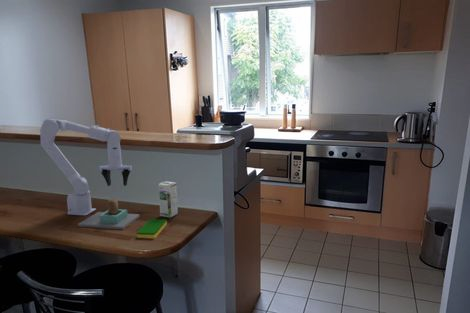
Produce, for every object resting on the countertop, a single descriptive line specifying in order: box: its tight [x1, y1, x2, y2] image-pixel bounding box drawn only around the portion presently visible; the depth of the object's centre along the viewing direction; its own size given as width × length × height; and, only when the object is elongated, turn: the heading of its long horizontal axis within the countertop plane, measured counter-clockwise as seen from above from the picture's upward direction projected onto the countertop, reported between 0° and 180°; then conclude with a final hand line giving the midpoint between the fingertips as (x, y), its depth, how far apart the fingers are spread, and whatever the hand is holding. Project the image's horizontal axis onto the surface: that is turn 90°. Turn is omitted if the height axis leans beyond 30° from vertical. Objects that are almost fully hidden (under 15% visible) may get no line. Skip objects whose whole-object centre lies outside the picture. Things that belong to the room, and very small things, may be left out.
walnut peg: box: [107, 198, 119, 215], centre depth 143 cm, size 4×4×8 cm
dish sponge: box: [136, 218, 168, 239], centre depth 134 cm, size 7×14×2 cm, turn 172°
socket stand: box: [77, 208, 141, 230], centre depth 144 cm, size 20×14×4 cm
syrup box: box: [158, 180, 179, 219], centre depth 149 cm, size 6×6×14 cm
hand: (117, 185), depth 161 cm, fingers open, 7 cm apart
